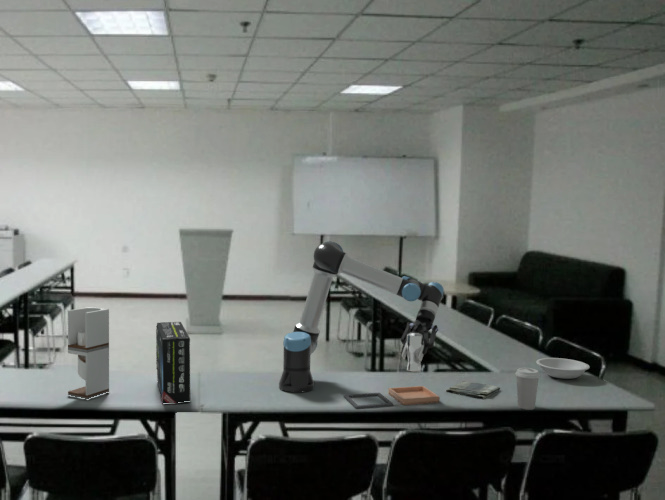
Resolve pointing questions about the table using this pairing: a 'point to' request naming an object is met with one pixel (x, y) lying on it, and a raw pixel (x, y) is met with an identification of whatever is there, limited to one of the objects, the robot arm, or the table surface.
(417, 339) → the beer glass
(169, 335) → the router box
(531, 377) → the coffee cup
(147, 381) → the table surface
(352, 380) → the table surface
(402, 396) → the terracotta tray
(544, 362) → the soup bowl
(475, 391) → the dish towel
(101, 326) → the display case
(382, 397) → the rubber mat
